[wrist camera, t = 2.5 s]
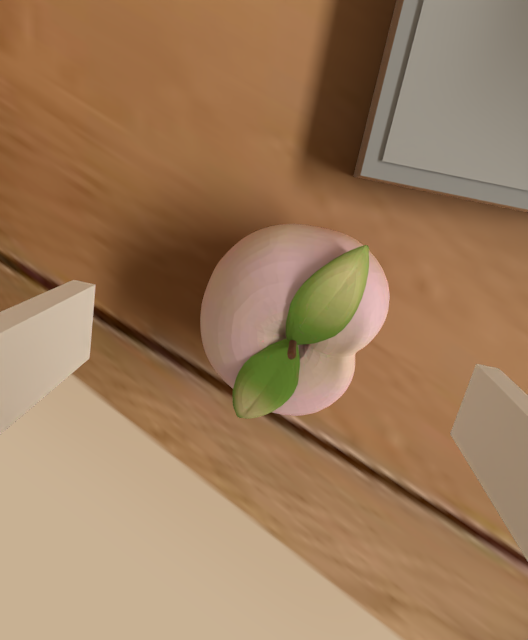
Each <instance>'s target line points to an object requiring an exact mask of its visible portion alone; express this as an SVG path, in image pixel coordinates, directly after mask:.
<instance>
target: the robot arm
mask: <svg viewBox="0 0 528 640" xmlns="http://www.w3.org/2000/svg"><path fill="white" fill-rule="evenodd" d="M94 297H95V284H91V283H86V282H81V281H76V280H72V281H70V282H68V283H65V284H63V285H61V286H59V287H56V288H54V289H52V290H49V291H47V292H45V293H43V294H40V295H38V296H36V297H33V298H31V299H29V300H27V301H24V302H22V303H20V304H18V305H15V306H13V307H11V308H8V309H6V310H4V311H2V312H0V434H1V433H3V432H4V431H5V430H6V429H7V428H8V427H10V426H11V425H12V424H13V423H14V422H16V421H17V420H18V419H19V418H20V417H21V416H22V415H24V414H25V413H26V412H27V411H28V410H30V409H31V408H32V407H33V406H34V405H35V404H36V403H38V402H39V401H40V400H41V399H42V398H44V397H45V396H46V395H47V394H48V393H50V392H51V391H52V390H53V389H54V388H55V387H56V386H58V385H59V384H60V383H61V382H62V381H64V380H65V379H66V378H67V377H68V376H69V375H71V374H72V373H73V372H74V371H75V370H76V369H78V368H79V367H80V366H81V365H82V364H84V363H85V362H86V361H87V360H88V359H89V358H90V347H91V334H92V322H93V309H94ZM450 434H451V436H452V438H453V439H454V441H455V443H456V444H457V446H458V448H459V449H460V451H461V453H462V454H463V456H464V457H465V459H466V461H467V462H468V464H469V466H470V467H471V469H472V471H473V472H474V474H475V476H476V477H477V479H478V480H479V482H480V484H481V485H482V487H483V489H484V490H485V492H486V494H487V495H488V497H489V499H490V500H491V502H492V503H493V505H494V507H495V508H496V510H497V512H498V513H499V515H500V517H501V518H502V520H503V522H504V523H505V525H506V526H507V528H508V530H509V531H510V533H511V535H512V536H513V538H514V540H515V541H516V543H517V544H518V546H519V548H520V549H521V551H522V553H523V554H524V556H525V558H526V559H527V561H528V395H527V394H526V393H525V392H524V391H523V390H521V389H520V388H519V387H518V386H517V385H516V384H515V383H514V382H513V381H512V380H511V379H510V378H508V377H507V376H506V375H505V374H504V373H503V372H502V371H501V370H500V369H499V368H494V367H489V366H484V365H480V364H476V366H475V369H474V371H473V374H472V377H471V379H470V382H469V385H468V387H467V390H466V393H465V395H464V398H463V401H462V403H461V406H460V409H459V412H458V414H457V417H456V420H455V422H454V425H453V428H452V430H451V433H450Z"/></svg>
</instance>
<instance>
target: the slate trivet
mask: <svg viewBox="0 0 528 640" xmlns="http://www.w3.org/2000/svg"><path fill="white" fill-rule="evenodd" d="M353 177H356V178H361V179H366V180H371V181H376V182H381V183H386V184H390V185H395V186H400V187H405V188H410V189H415V190H420V191H425V192H430V193H434V194H439V195H444V196H449V197H454V198H459V199H464V200H469V201H473V202H478V203H483V204H488V205H493V206H498V207H503V208H508V209H513V210H517V211H522V212H527V213H528V0H396V4H395V8H394V12H393V16H392V20H391V24H390V28H389V32H388V36H387V40H386V45H385V49H384V53H383V57H382V61H381V65H380V69H379V73H378V77H377V81H376V86H375V90H374V94H373V98H372V102H371V106H370V110H369V114H368V118H367V122H366V127H365V131H364V135H363V139H362V143H361V147H360V151H359V155H358V159H357V163H356V168H355V172H354V176H353Z"/></svg>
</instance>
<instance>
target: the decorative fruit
mask: <svg viewBox="0 0 528 640" xmlns="http://www.w3.org/2000/svg"><path fill="white" fill-rule="evenodd" d="M389 298H390V295H389V286H388V282H387V279H386V276H385V274H384V271H383V269H382V267H381V266H380V264H379V262H378V261H377V259H376V258H375V257H374V256H373V255H372V253H371V252H370V251H369V247H368V246H367V245H363V244H361V243H360V242H358V241H357V240H355V239H354V238H352V237H350V236H348V235H346V234H344V233H341V232H338V231H335V230H331V229H327V228H322V227H317V226H311V225H303V224H280V225H274V226H270V227H266V228H263V229H260V230H257V231H255V232H253V233H251V234H249V235H247V236H246V237H244V238H243V239H241V240H240V241H239V242H238V243H237V244H235V245H234V246H233V247H232V248H231V249H230V250H229V251H228V252H227V253H226V254H225V255H224V256H223V257H222V259H221V260H220V261H219V263H218V264H217V265H216V267H215V269H214V271H213V273H212V275H211V278H210V280H209V282H208V285H207V288H206V291H205V294H204V297H203V301H202V306H201V315H200V326H201V337H202V343H203V347H204V350H205V353H206V355H207V357H208V359H209V361H210V363H211V365H212V367H213V368H214V370H215V371H216V373H217V374H218V375H219V376H220V377H221V378H222V379H223V380H224V381H225V382H226V383H227V384H228V385H229V386H230V387H232V388H233V406H234V409H235V412H236V415H237V416H238V417H239V418H256V417H260V416H263V415H266V414H268V413H270V412H274V413H278V414H283V415H295V416H296V415H306V414H311V413H315V412H318V411H320V410H322V409H324V408H326V407H328V406H330V405H331V404H332V403H334V402H335V401H336V400H337V399H339V398H340V397H341V395H342V394H343V393H344V392H345V391H346V389H347V388H348V386H349V384H350V383H351V380H352V377H353V374H354V370H355V353H356V352H357V351H359V350H360V349H362V348H364V347H365V346H366V345H367V344H369V343H370V342H371V340H372V339H373V338H374V337H375V336H376V335H377V333H378V332H379V330H380V329H381V327H382V325H383V324H384V322H385V320H386V316H387V313H388V307H389Z"/></svg>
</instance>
